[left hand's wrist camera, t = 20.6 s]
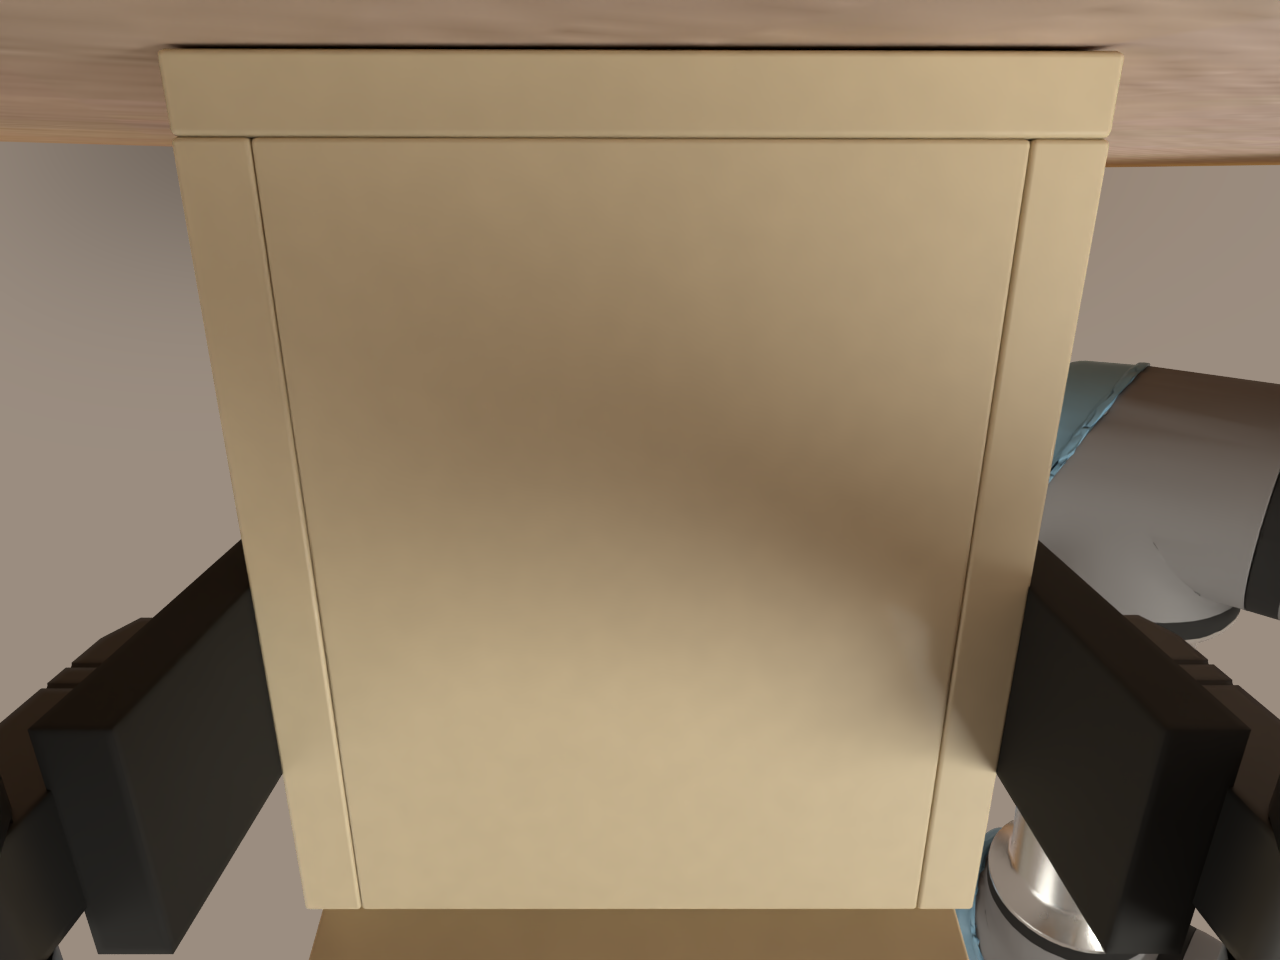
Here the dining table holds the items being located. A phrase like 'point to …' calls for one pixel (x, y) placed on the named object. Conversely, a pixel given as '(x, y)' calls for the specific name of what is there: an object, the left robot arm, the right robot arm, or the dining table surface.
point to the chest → (639, 452)
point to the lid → (639, 934)
